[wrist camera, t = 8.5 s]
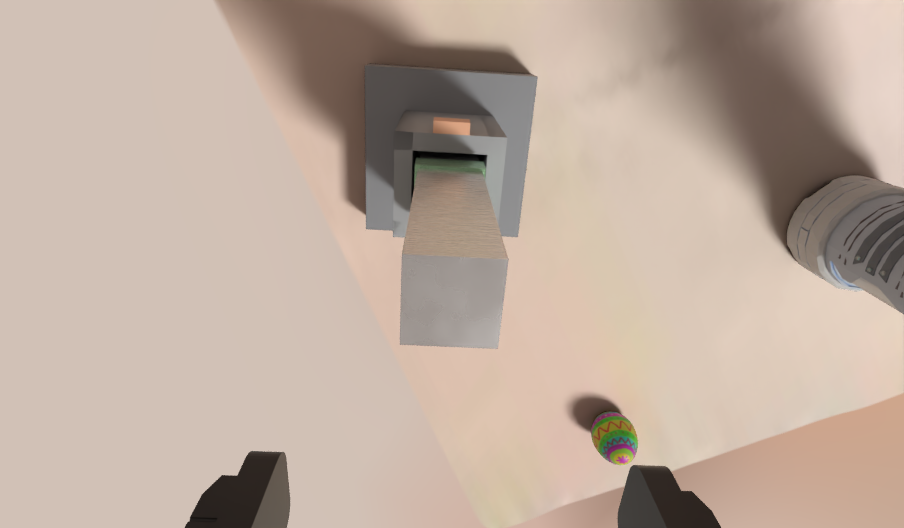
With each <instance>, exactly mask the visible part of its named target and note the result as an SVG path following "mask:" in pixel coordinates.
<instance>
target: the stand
mask: <svg viewBox="0 0 904 528" xmlns="http://www.w3.org/2000/svg"><path fill="white" fill-rule="evenodd" d="M536 86H537V76H535V75H532V74H520V73H505V72H490V71H474V70H459V69H444V68H429V67H414V66H398V65H383V64H367V65H365V157H366V229H373V230H392V231H393V237H405V235H406V229H407V224H408V219H409V213H410V208H411V203H412V197H413V192H414V174H415V161H416V158H420V154H421V151H430V152H447V153H464V154H477V155H478V159H479V161H482V162H484V164H485V168H486V174H485V182H486V185H487V189H488V192H489V196H490V199H491V202H492V206H493V209H494V212H495V216H496V219H497V223H498V226H499V229H500V233H501V236H507V237H518V231H519V223H520V215H521V207H522V199H523V191H524V182H525V174H526V166H527V158H528V150H529V142H530V134H531V126H532V118H533V110H534V102H535V94H536Z"/></svg>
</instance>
